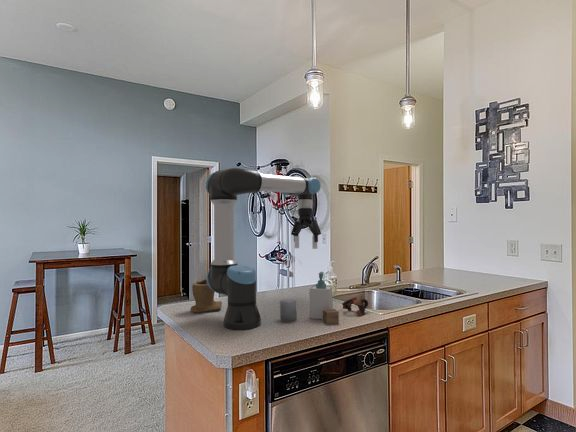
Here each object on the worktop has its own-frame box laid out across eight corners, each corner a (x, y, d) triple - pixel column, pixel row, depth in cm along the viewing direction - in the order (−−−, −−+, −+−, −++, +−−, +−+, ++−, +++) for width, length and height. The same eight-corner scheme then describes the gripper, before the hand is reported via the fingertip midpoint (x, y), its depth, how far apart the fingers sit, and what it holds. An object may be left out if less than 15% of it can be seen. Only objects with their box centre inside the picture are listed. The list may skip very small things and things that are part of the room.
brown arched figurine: (353, 318, 154) (344, 301, 157) (345, 323, 162) (337, 306, 165) (375, 308, 158) (366, 291, 161) (366, 313, 166) (358, 296, 169)
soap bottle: (333, 314, 160) (332, 271, 160) (329, 319, 151) (329, 274, 151) (314, 313, 162) (313, 270, 162) (309, 318, 154) (309, 273, 154)
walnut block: (322, 321, 149) (322, 309, 149) (334, 320, 150) (333, 308, 150) (327, 324, 144) (327, 312, 144) (338, 323, 146) (338, 311, 146)
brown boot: (191, 315, 161) (191, 282, 161) (189, 309, 172) (189, 278, 172) (225, 312, 166) (225, 280, 166) (221, 306, 177) (220, 276, 178)
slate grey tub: (287, 323, 147) (287, 303, 147) (276, 319, 153) (276, 301, 153) (300, 319, 152) (299, 301, 152) (289, 316, 157) (289, 298, 157)
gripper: (327, 206, 182) (328, 248, 181) (294, 209, 201) (295, 247, 199) (317, 206, 177) (317, 249, 176) (284, 209, 196) (284, 248, 195)
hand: (305, 248), depth 188 cm, fingers open, 13 cm apart
